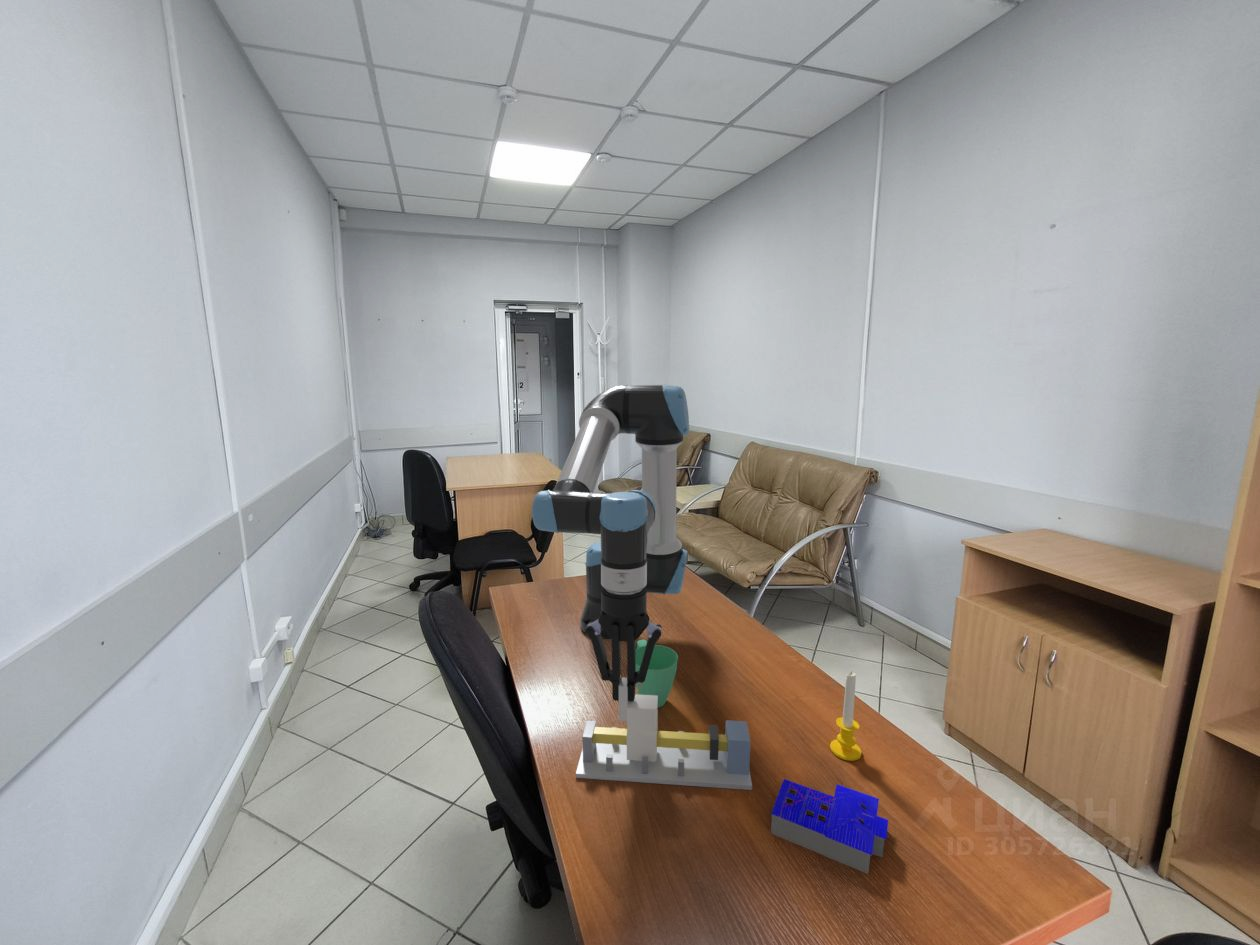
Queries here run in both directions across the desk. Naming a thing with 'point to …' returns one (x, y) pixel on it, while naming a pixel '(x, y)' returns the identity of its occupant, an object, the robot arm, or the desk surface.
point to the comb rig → (671, 757)
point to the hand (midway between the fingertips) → (623, 716)
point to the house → (831, 823)
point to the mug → (657, 671)
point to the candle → (847, 725)
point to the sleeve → (642, 727)
